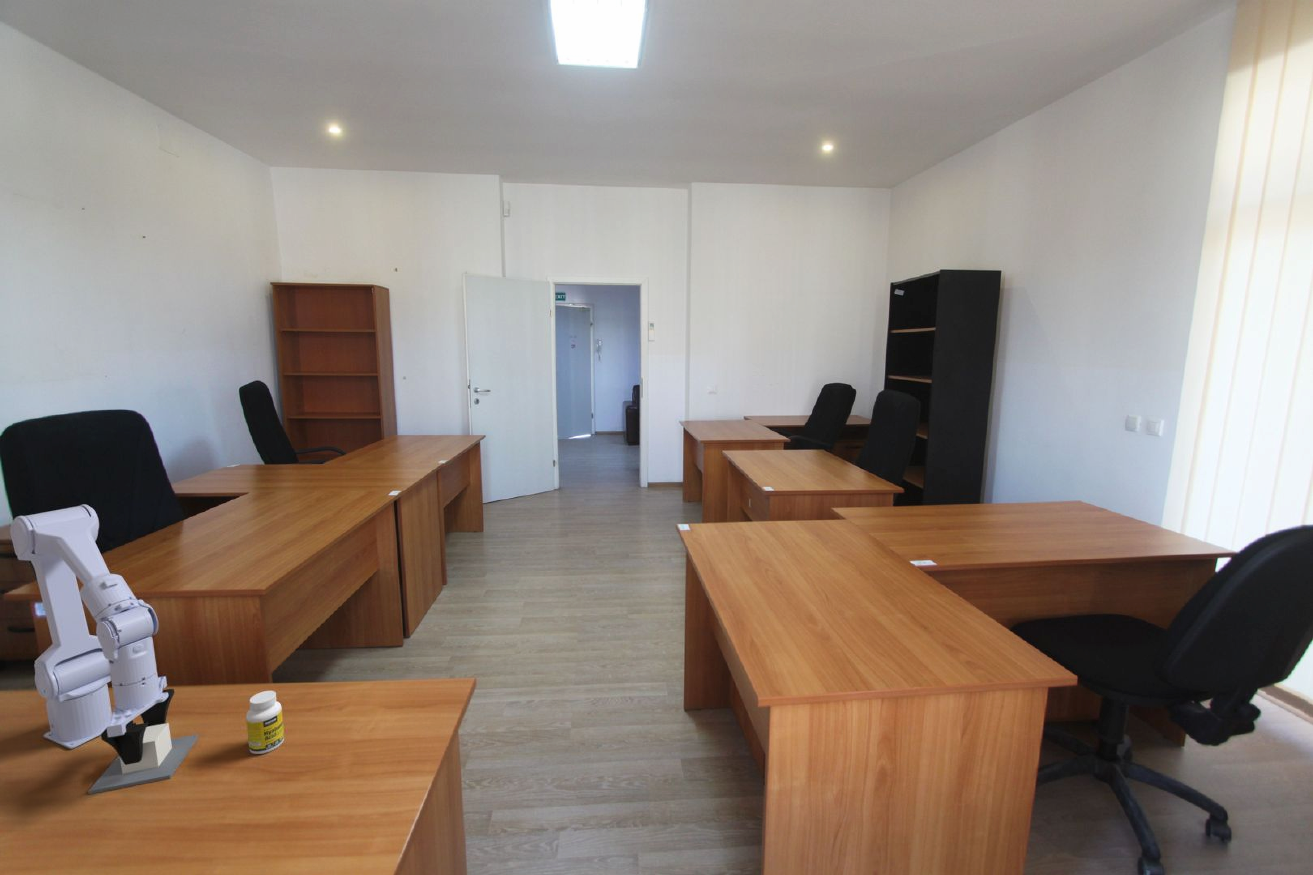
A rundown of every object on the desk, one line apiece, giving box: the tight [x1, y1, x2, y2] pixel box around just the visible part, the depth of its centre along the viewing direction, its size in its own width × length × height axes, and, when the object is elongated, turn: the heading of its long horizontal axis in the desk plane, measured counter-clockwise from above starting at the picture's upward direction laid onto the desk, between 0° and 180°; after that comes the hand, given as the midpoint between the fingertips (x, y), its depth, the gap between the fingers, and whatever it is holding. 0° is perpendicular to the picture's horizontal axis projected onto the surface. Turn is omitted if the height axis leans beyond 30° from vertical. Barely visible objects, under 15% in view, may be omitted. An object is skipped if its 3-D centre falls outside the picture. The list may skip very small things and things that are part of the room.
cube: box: [120, 722, 172, 774], centre depth 98 cm, size 5×5×5 cm
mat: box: [87, 734, 200, 795], centre depth 99 cm, size 11×11×1 cm
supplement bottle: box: [245, 690, 285, 755], centre depth 103 cm, size 5×5×10 cm
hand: (145, 747), depth 98 cm, fingers open, 7 cm apart
